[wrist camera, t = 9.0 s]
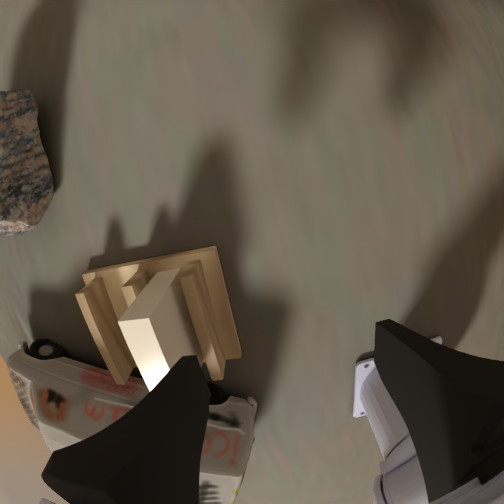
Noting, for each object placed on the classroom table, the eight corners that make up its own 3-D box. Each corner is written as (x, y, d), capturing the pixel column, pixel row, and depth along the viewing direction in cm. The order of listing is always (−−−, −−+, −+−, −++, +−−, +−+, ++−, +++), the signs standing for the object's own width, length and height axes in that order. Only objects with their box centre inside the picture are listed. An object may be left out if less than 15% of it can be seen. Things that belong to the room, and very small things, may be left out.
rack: (216, 245, 20) (208, 264, 16) (241, 350, 22) (240, 383, 19) (87, 270, 20) (61, 289, 17) (124, 361, 23) (108, 388, 19)
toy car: (28, 329, 23) (-25, 381, 13) (258, 382, 24) (262, 476, 14) (50, 397, 26) (16, 449, 16) (243, 445, 27) (242, 519, 17)
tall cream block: (180, 268, 19) (149, 318, 13) (205, 350, 21) (191, 416, 15) (157, 272, 19) (117, 321, 13) (184, 353, 21) (164, 416, 15)
